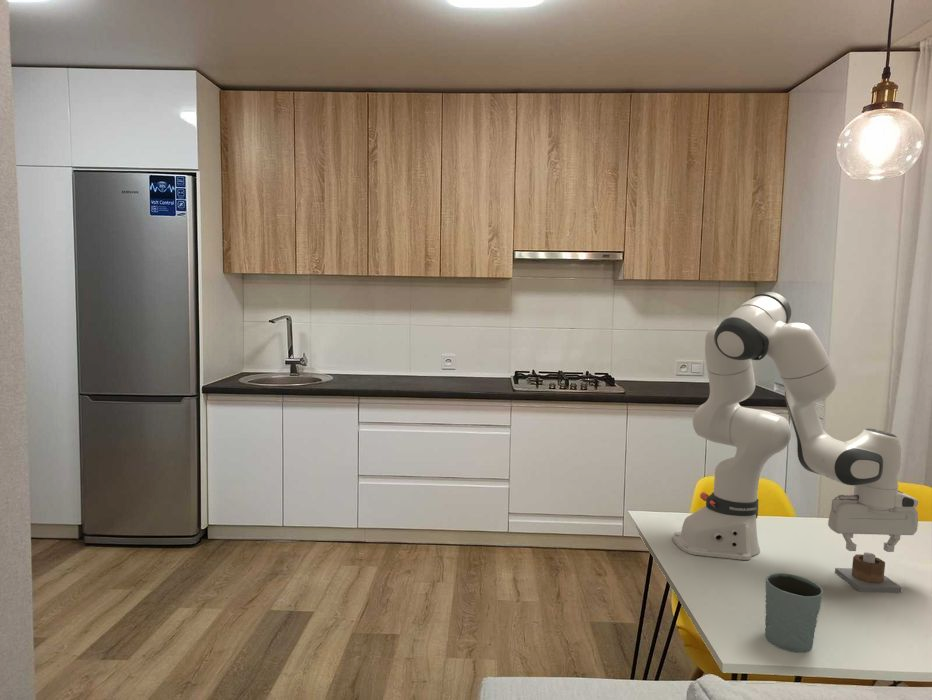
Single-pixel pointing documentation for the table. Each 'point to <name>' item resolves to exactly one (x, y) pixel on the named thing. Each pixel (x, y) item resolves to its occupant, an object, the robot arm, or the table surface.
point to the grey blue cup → (791, 611)
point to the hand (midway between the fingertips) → (869, 550)
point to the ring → (868, 569)
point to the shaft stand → (865, 586)
